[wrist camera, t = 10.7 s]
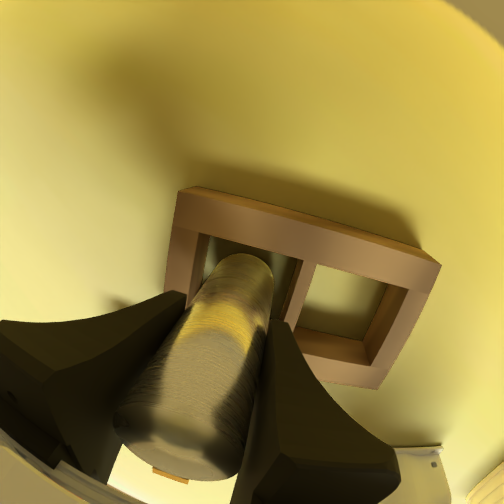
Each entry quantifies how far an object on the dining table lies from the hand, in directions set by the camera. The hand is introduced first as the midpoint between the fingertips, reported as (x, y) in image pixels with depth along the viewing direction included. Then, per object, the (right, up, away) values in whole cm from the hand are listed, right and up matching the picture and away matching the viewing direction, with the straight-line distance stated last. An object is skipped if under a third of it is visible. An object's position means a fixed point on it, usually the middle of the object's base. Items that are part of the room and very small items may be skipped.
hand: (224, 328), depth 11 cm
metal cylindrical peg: (+1, +1, +4) cm, 5 cm away
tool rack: (+3, +1, +5) cm, 6 cm away
